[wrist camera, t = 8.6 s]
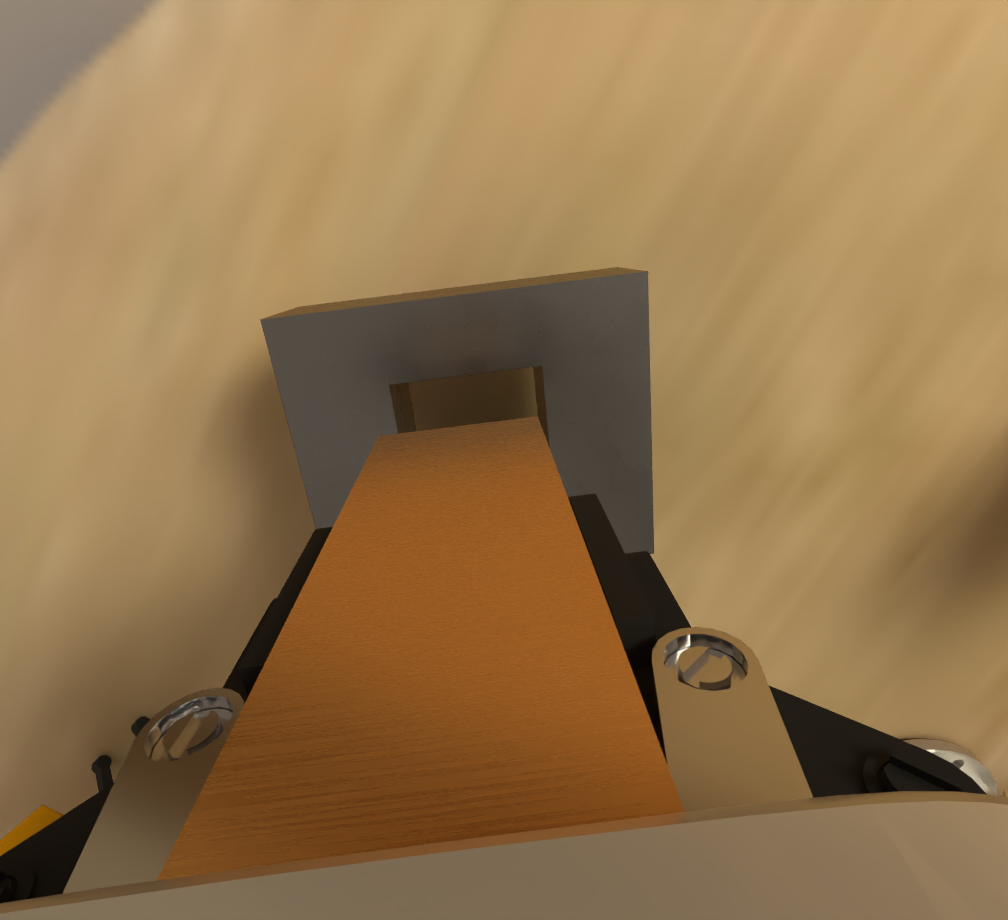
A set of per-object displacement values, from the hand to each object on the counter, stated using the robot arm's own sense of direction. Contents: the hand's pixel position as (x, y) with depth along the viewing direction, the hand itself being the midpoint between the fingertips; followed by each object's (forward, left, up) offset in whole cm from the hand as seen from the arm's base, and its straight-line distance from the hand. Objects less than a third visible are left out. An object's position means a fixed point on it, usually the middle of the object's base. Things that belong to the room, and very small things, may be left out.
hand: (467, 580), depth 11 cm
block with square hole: (0, +4, -16) cm, 17 cm away
